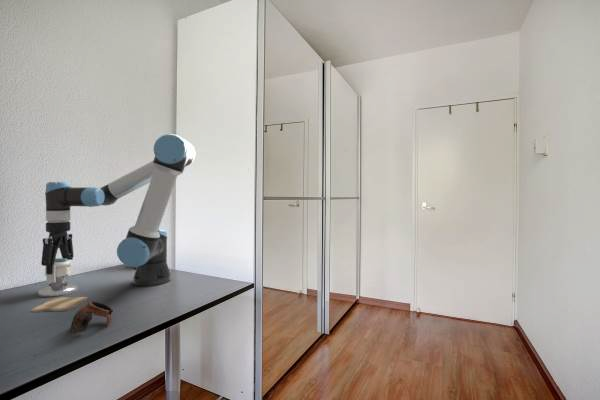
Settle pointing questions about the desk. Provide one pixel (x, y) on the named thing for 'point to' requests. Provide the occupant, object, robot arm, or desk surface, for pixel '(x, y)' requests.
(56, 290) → the bayonet post
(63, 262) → the cap
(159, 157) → the robot arm
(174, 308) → the desk surface
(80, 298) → the coaster
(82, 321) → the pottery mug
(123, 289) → the desk surface
